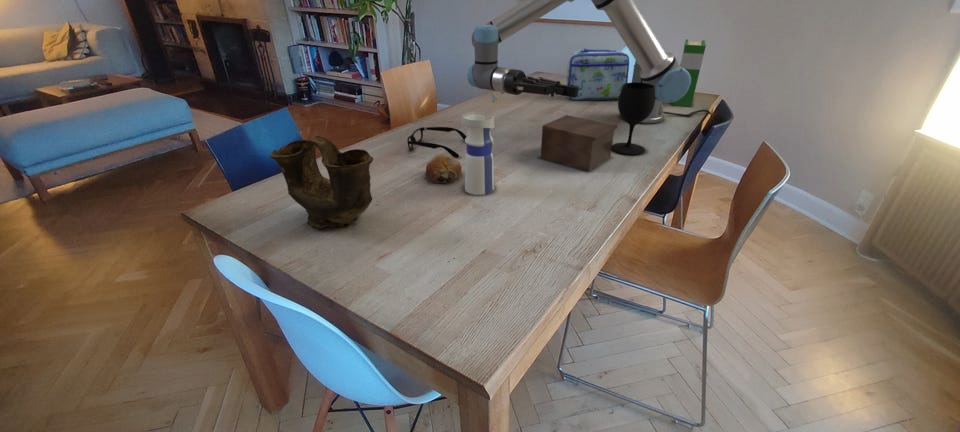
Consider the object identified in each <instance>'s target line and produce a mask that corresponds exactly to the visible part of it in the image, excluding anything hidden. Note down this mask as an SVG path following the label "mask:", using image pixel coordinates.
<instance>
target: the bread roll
mask: <svg viewBox="0 0 960 432" xmlns="http://www.w3.org/2000/svg"><path fill="white" fill-rule="evenodd" d="M425 176H426V179H427V180H428V181H429V182H431V183H434V184H449V183H452V182H455V181H457V180H459V179H460V177H462V165H461V163H460V161H459V160H458V159H457V158H455V157H453V156H452V155H451V154H436V155H435V156H434V157H432V158H431V159H430V160H429V161H428V162H427V163H426V166H425Z"/></svg>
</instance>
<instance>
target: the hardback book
mask: <svg viewBox="0 0 960 432" xmlns="http://www.w3.org/2000/svg"><path fill="white" fill-rule="evenodd" d="M706 46H707V45H706V40H705V39H702V40H701V41H689V39H687V38H686V39H685V41H684V46H683V50H682V54H681V60H680V64H679V65H680V67H682V68H684V69H686V70H687V71H688V72H689V74H690V76H691V84H690V87H689V90H688V91H687V93H686V94H685V95H684V96H683V97H682V98H681V99H679V100H678V101H675V102H672V103H671V105H672V106H676V107H677V106H678V107H688V108H691V107H692V104H693V100H694V96H695V92H696V88H697V84H698V80H699V76H700V71H701V68H702V63H703V61H704V60H703V59H704V54H705V52H706V51H705V50H706Z"/></svg>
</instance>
